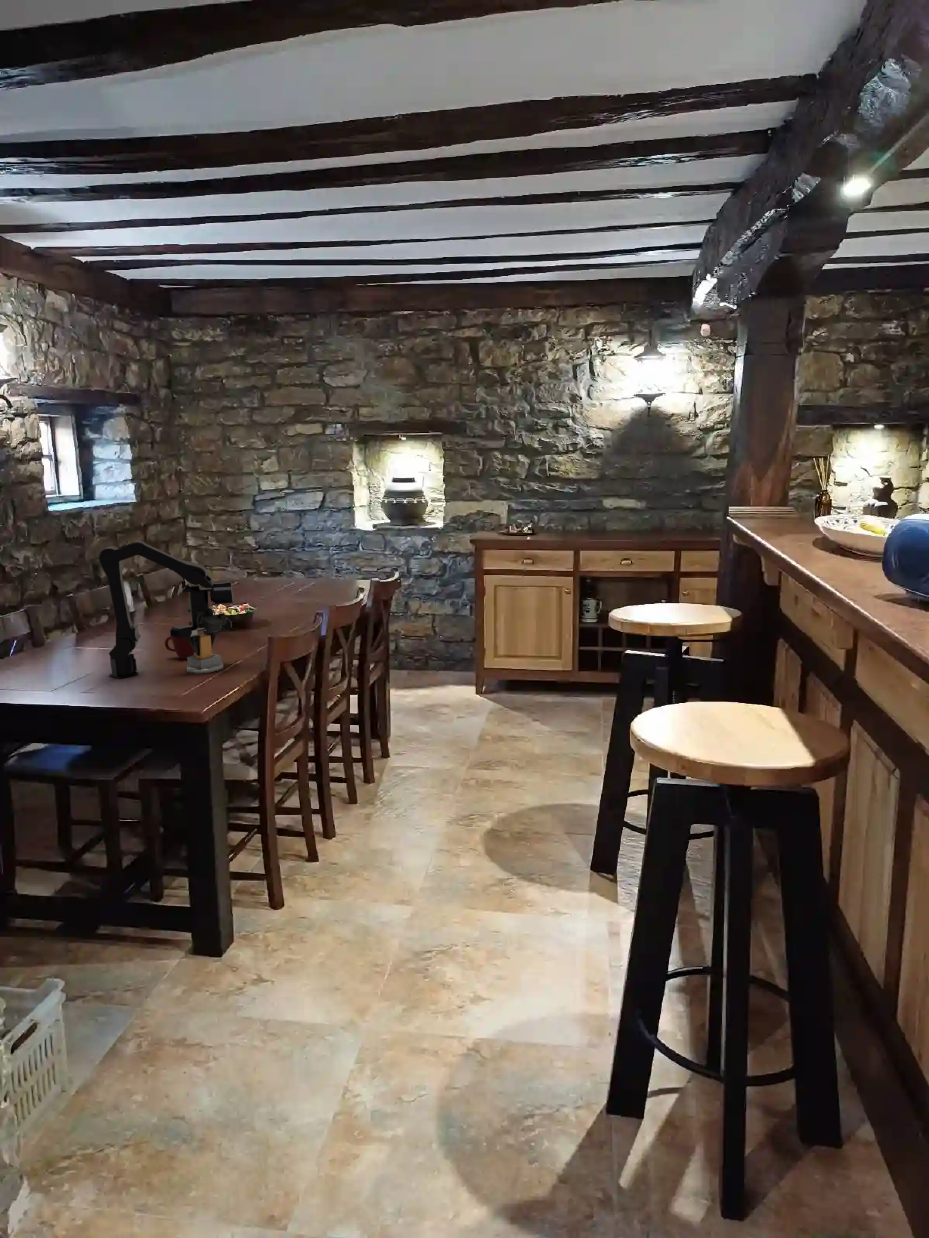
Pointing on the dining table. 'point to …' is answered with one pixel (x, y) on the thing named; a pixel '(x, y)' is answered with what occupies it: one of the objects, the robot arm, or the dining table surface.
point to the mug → (180, 647)
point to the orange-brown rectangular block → (205, 646)
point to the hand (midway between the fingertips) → (203, 654)
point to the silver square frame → (204, 664)
